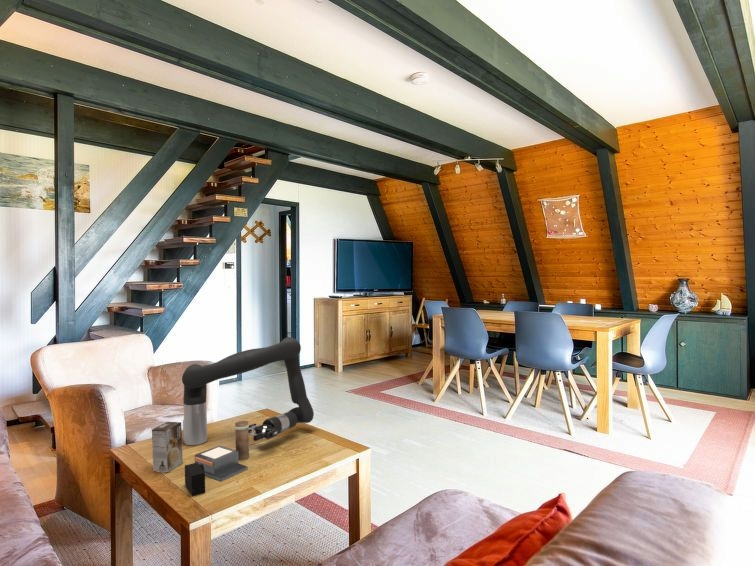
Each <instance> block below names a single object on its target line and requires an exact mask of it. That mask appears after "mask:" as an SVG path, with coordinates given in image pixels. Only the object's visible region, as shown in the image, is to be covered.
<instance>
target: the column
mask: <svg viewBox="0 0 755 566" xmlns="http://www.w3.org/2000/svg"><path fill="white" fill-rule="evenodd" d="M248 428H249V421H248V420H239V421H236V422H235V423H234V430H235V431H234V432H235V433H234V434H235V435H234V436H235V442H234V443H235V450H236V451H238V458H239V461H245V460H248V459H249V458H250V447H249V445H250V443H249V441H250V440H249V437H250V434H249V433H248Z"/></svg>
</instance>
